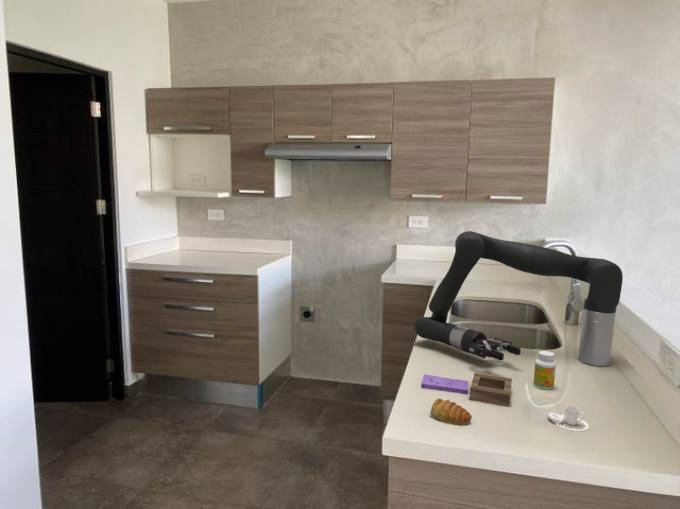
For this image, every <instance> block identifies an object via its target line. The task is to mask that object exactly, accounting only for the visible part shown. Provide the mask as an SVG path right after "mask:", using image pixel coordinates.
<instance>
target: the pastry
mask: <svg viewBox="0 0 680 509" xmlns="http://www.w3.org/2000/svg"><path fill="white" fill-rule="evenodd" d="M429 413H430V415H431V416H432V417H433V419H436V420H440V421H441V422H444V423H449V424H452V425H462V426H463V425H468V424H470V422H471V420H472V419H473V416H472V414H471V413H470V411H468V410H467V409H466V408H464V407H462V405H459V404H457V403H456V402H455V401H450V400H449V399H445V400H443V399H442V398H437V399H435V400H434V402H433V403H432V405H431V409H430V412H429Z"/></svg>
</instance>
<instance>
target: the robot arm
mask: <svg viewBox="0 0 680 509" xmlns="http://www.w3.org/2000/svg"><path fill="white" fill-rule="evenodd" d="M454 249H455V252H454V255H453V259H452V262H451V264H450V266H449V268H448V270H447V272H446V274H445V276H444V277H443V279H442V280H441V282H440V283H439V285H438V286H437V288H436V290H435V291H434V294H433V295H432V298H431V299H430V302H429V304H428V309H429V311H430V312H431V316H422V317H418V318H417V319H416V320H415V322H414V324H413V328H414V332H415V334H416V335H417V336H419V337H421V338H423V339H426V340H430V341H435V342H440V343H443V344H445V345H448V346H450V347H453V348H455V349H457V350H460V351H462V352H465V353H467V354H471V355H474V356H476V357H479V358H482V359H486V358H488V359H491V358H492V359H495V360H497V361H504V358H505V355H504V353H503V352H505V353H510V354H513V355H515V356H520V355H521V351H522V350H521V347H517V346H515V345H513V342H512V341H509V340H507V339H506V340H505V339H502V338H498V337H494V339H492V338H487V337H486V334H485V333H484V332H483V331H479V330H476V329H473V328H469V327H466V326H462V325H461V326H460V325H458V324H454V323H450V322H447V321H448V320H447V319H448V314H449V312H450V310H451V308H452V306H454V305H453V304H455V303H454V302H455V300H456V299H457V296H458V295H459V292H460V290H461V289H462V286H463V284H464V282H465V280H466V279H467V278H468V276H469V275H470V272H472V270H473V268H474V267H475V266H476V265H477V263H478V262H479V261H480V259H484V260H485V259H486V260H490V261H495V262H498V263H500V264H503V265H504V266H506V267H510V268H512V269H514V270H516V271H518V272H519V271H520V272H523V273H527V274H532V275H535V276H536V275H537V276H543V277H563V278H570V279H575V280H577V281H581V282H584V283H585V284H586V283H587V284H589V286H588V287H589V289H588V294H587V297H586V298H585V299H584V302H583V310H582V311H583V312H582V320H581V321H582V322H581V330H580V339H579V346H578V356H577V357H578V358H577V360H578V361H580V362H581V363H583V364H586V365H589V366H595V367H607V366H610V363H611V357H612V356H611V355H612V349H613V348H612V347H613V337H614V331H615V321H616V313H617V307H618V305H619V303H620V299H621V294H622V286H623V280H624V279H623V278H624V277H623V271H622V268H620V266H619V265H618V264H617V263H615V262H612V261H610V260H608V259H604V258H595V257H586V256H578V255H573V254H570V253H566V252H563V251H560V250H557V249H553V248H548V247H545V246H540V245H536V244H535V245H534V244H531V243H525V242H524V243H523V242H518V241H510V240H506V239H505V240H503V239H498V238H495V237H492V236H487V235H485V234H482V233H479V232H476V231H472V230H469V231H467V230H466V231H464V232H461V233H459V235H458V236H457V237H456V239H455V242H454Z"/></svg>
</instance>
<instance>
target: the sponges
mask: <svg viewBox="0 0 680 509" xmlns="http://www.w3.org/2000/svg"><path fill="white" fill-rule="evenodd" d="M422 376H423V377H422V381H421V388H422V389H427V390H436V391H442V392H449V393H455V394H456V393H457V394H461V395H462V394H463V395H468V394H469V380H465V379H458V378H450V377H444V376H437V375H431V374H427V373H426V374H425V373H424V374H423V375H422Z"/></svg>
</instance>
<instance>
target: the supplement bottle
mask: <svg viewBox="0 0 680 509" xmlns="http://www.w3.org/2000/svg"><path fill="white" fill-rule="evenodd" d="M554 358H555V354H554V352H552V351H548V350H539V351H538V358H536V360H535V361H534V362H535V363H534V372H533V381H532V382H533V383H532V384H533V386H535V388H538V389H541V390H546V391H547V390H549V391H550V390H553V389H554V386H555V378H556V377H555V376H556V367H557V364H556V361H554Z"/></svg>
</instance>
